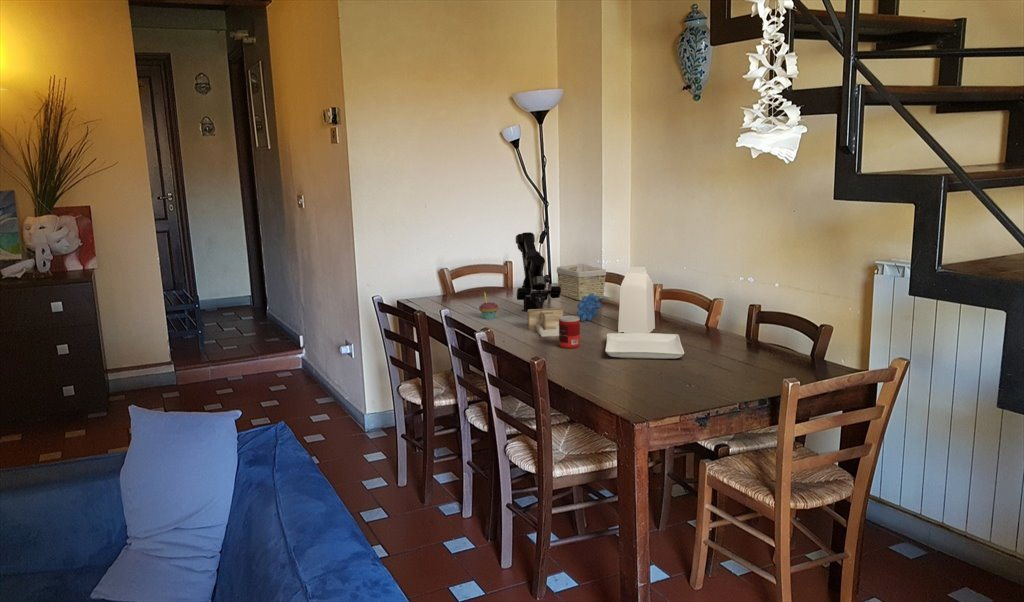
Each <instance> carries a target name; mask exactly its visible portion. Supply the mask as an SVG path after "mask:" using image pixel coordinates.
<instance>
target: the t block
mask: <svg viewBox="0 0 1024 602" xmlns="http://www.w3.org/2000/svg"><path fill="white" fill-rule="evenodd" d="M562 316H564V310H563V308H562V307H551V308H542V309H530V310H528V312H527V329H528V330H533V331H537V330H536V324H540V325H541V326H542V327H543V329H544V330H550V329H556V324H557V325H558V326H559V318H560V317H562Z"/></svg>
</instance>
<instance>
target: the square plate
mask: <svg viewBox="0 0 1024 602" xmlns="http://www.w3.org/2000/svg"><path fill="white" fill-rule="evenodd" d="M604 352H605V353H606V354H607V355H608V356H610V357H612V358H620V359H646V360H647V359H653V360H657V359H659V360H660V359H661V360H668V359H670V360H671V359H672V360H673V359H679V358H682V356H684V355H685V351H684V348H683V346H682V342H681V338H680V335H679V334H677V333H658V332H657V333H656V332H655V333H653V332H650V333H621V332H617V333H616V332H615V333H613V332H611V333H608V332H607V333H606V344H605V351H604Z"/></svg>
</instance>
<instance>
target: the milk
mask: <svg viewBox="0 0 1024 602" xmlns="http://www.w3.org/2000/svg"><path fill="white" fill-rule="evenodd" d="M654 294H655V293H654V283H653V280H652V279H651V277H650V275H649V274H648V271H647V269H646V266H640V265H639V266H638V265H636V266H635V265H630V266H629V267H628V269H627V271H626V273H625V275H624V278H623V279H622V282H621V283H620V289H619V305H618V306H619V308H618V310H619V311H618V328H617V330H618V331H617V333H621V332H624V333H652V331H654V330H655V329H656V320H655V319H656V317H655V316H656V315H655V299H654ZM653 329H654V330H653Z"/></svg>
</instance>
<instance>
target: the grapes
mask: <svg viewBox="0 0 1024 602" xmlns="http://www.w3.org/2000/svg"><path fill="white" fill-rule="evenodd" d="M600 299H601V298H599V296H595V295H594V294H593V293H591V294H589V295H588V296H584V297H583V298H582V301H580V302H578V304H577V309H578V310H577V312H576V316H578V317H580V321H581V322H585V321H587V322H590V321H592V320H593V318H594V317H597V316H598V315H599V309H600V308H601V307H602V303H601V302H600Z"/></svg>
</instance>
